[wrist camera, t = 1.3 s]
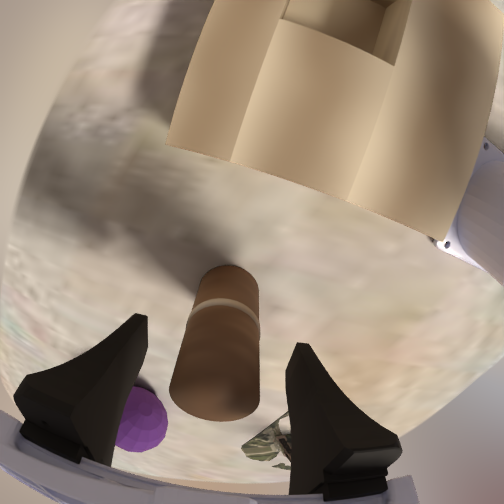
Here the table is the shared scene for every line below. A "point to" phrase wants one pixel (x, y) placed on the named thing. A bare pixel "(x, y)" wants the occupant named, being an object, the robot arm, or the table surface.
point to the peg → (220, 349)
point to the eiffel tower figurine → (269, 445)
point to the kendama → (142, 422)
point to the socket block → (348, 98)
